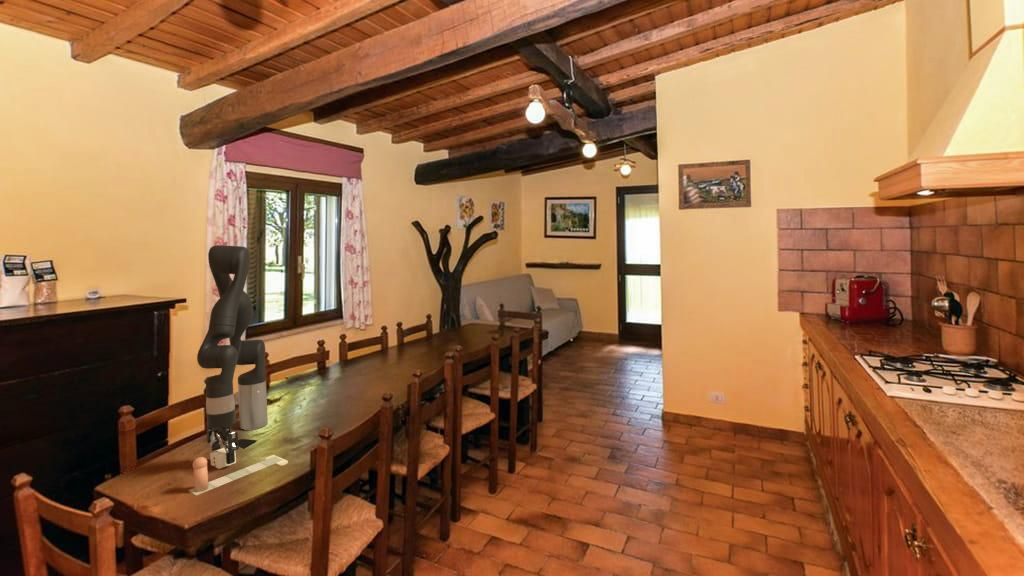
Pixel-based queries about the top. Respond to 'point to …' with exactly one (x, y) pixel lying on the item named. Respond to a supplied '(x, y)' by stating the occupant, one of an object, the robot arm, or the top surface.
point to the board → (243, 472)
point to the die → (219, 458)
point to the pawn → (200, 474)
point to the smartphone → (245, 443)
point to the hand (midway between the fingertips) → (223, 460)
